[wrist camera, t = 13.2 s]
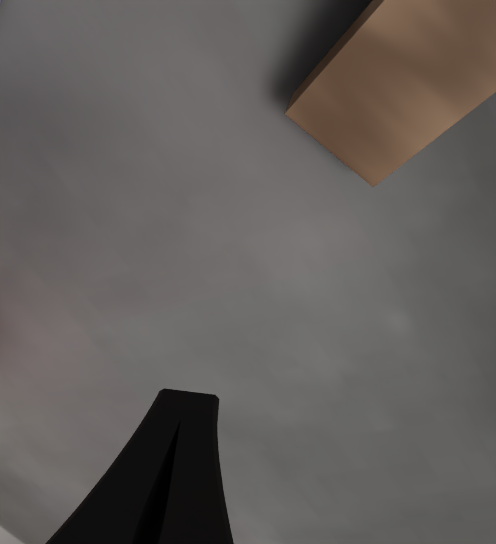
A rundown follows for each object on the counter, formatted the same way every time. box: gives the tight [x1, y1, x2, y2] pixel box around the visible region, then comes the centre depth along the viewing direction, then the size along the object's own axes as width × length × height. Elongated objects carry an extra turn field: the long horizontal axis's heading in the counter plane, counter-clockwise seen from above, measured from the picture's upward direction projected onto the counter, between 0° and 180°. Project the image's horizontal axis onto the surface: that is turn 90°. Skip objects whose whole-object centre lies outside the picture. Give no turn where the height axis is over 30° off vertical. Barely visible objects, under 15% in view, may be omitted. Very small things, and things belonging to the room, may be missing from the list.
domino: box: [285, 0, 496, 187], centre depth 13 cm, size 4×2×7 cm
